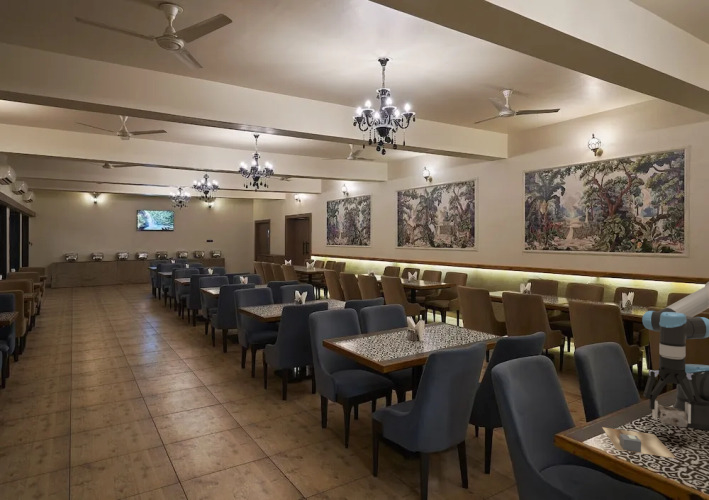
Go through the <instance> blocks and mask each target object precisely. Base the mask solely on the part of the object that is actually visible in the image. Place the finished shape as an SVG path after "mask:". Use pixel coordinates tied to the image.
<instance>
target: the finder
mask: <svg viewBox="0 0 709 500" xmlns="http://www.w3.org/2000/svg"><path fill="white" fill-rule="evenodd" d="M619 444H620V445H621V447H622V448H623V450H627V451H626V452H629V451H634V452H633V453H636V452H641V441H640V440H639V438H638V437H637V436H633V435H626V434H620V441H619Z"/></svg>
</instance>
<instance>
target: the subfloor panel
mask: <svg viewBox="0 0 709 500" xmlns="http://www.w3.org/2000/svg"><path fill="white" fill-rule="evenodd" d="M601 429H603V432H605V435H606V436H607V438H608V439H609V440H610V441H611V443H612V445H613V446H614V448H615V449H616V451H624V452H630V453H636V454H637V453H638V454H645V455H652V456H657V457H663V458H664V457H665V458H670V459H671V458H673V459H677V457H676V455H674V454H673V453H672V452H671V450H669V449H668V447H667V446H666V445H665V444H664V443H663V442H662V440H660V439H659V438H658V437H657V435H655V434H654V433H649V432H648V433H647V432H640V431H634V430H627V429H626V430H625V429H617V428H611V427H603V426H602V427H601ZM620 434H626V435H633V436H637V437H638V438H639V440H640V441H641V452H634V451H627V450H623V448H622V447H621V445H620V444H619V441H620Z"/></svg>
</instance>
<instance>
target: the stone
mask: <svg viewBox="0 0 709 500" xmlns="http://www.w3.org/2000/svg"><path fill="white" fill-rule="evenodd" d="M657 418H658V419H659V421H660V422H662V423H664V424H667V425H670V426H675V427H680V428H687V427H688V426H687V425H688V421H687V416H686V413H685V412H684V411H682V410H681V409H677V408H673V406H672V407H671V406H665V405H661V404H659V403H658V413H657Z"/></svg>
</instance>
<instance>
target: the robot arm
mask: <svg viewBox="0 0 709 500" xmlns="http://www.w3.org/2000/svg"><path fill="white" fill-rule="evenodd" d="M708 309H709V281H707V282H706V283H705V285H704V287H701V288H700V289H698V290H696V291H694V292H692V293H689V295H687V296H685V297H683V298H681V299H679V300H678V301H676V302H674V303H671V304H670V305H668V306H666V307H664V308H662V309H660V310H658V311H656V310H648V311H645V312H644V313H643V315H642V318H641V320H642V321H641V322H642V325H643V326H644V328H645V329H647V330H649V331H654V332H659V351H658V352H659V356H658V358H659V360H658V369H657V370H652V369H649V370H648V378H647V381H646V385H645V388H644V391H643V397H645V398H646V399H649V404H648V405H649V408H650V409H651V410H652V413H651V414H652V415H651V417H652V418H653V420H655V421H658V416H657V413H658V404H659V403H658V400H657V398H658V397H659V395H660V394H661V392H662V390H663V388H664V387H665V386H666V385H667V384H674V385H676V395H675V396H676V397H675V402H674V404H673V406H672V407H673V408H677V409H681V410H682V411H684V412H685V413H686V416H687V421H688V425H687V427H688V428H692V429H698V430H702V431H703V430H706V431H709V365H706V364H698V363H697V364H696V363H695V364H692V363H686V356H687V355H686V353H687V352H686V345H687V344H686V343H687V342H686V341H687V340H695V339H696V340H697V339H698V340H701V339H707V338H709V319H708V318H707V317H704V316H703V317H701V316H697V315H699V314H701V313H703V312H704V311H706V310H708ZM658 376H659V377H660V378H659V380H658V382H657V383H656V385H655V387H654V383H655V380H656V377H658ZM653 387H654V388H653Z"/></svg>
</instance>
